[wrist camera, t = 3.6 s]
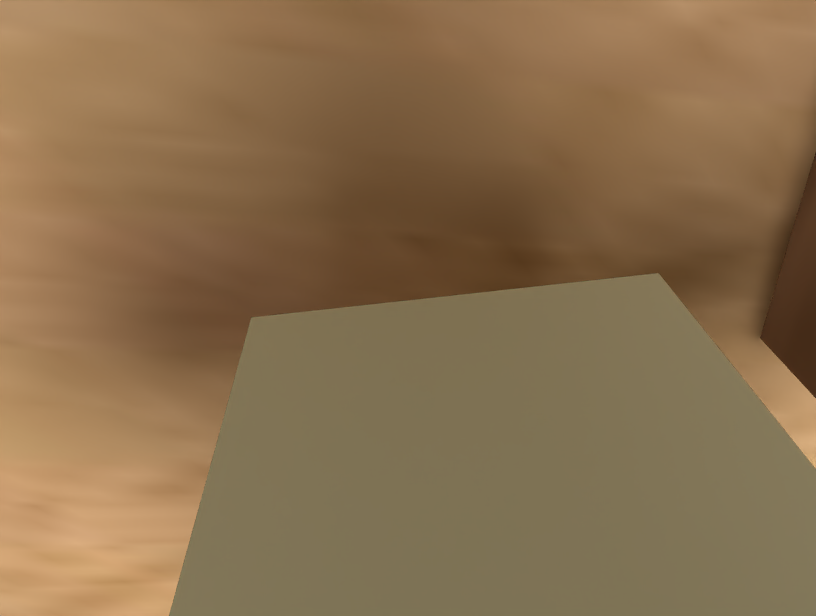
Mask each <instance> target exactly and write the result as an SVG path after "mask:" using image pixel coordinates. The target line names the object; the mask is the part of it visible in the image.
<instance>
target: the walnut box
mask: <svg viewBox="0 0 816 616" xmlns="http://www.w3.org/2000/svg"><path fill="white" fill-rule="evenodd" d="M760 338H761V339H762V340H763V341H764V342H765V344H766V345H767V346H768V347H769V348H770V349H771V350H772V351H773V352H774V353H775V354H776V356H777V357H778V358H779V359H780V360H781V361H782V362H783V363H784V364H785V365H786V366H787V367H788V369H789V370H790V371H791V372H792V373H793V374H794V375H795V376H796V377H797V378H798V379H799V381H800V382H801V383H802V384H803V385H804V386H805V387H806V388H807V389H808V390H809V391H810V392H811V394H812V395H813V396H814V397H815V398H816V153H815V157H814V160H813V163H812V167H811V170H810V173H809V177H808V180H807V183H806V187H805V190H804V193H803V197H802V200H801V203H800V207H799V210H798V213H797V217H796V220H795V223H794V227H793V230H792V233H791V237H790V240H789V243H788V247H787V250H786V253H785V257H784V260H783V263H782V267H781V270H780V273H779V277H778V280H777V283H776V287H775V290H774V293H773V297H772V300H771V303H770V307H769V310H768V313H767V317H766V320H765V323H764V327H763V330H762V333H761V337H760Z"/></svg>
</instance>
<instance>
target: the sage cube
mask: <svg viewBox="0 0 816 616" xmlns="http://www.w3.org/2000/svg"><path fill="white" fill-rule="evenodd" d="M169 616H816V469H815V467H814V466H813V465H812V464H811V462H810V461H809V460H808V459H807V457H806V456H805V455H804V454H803V452H802V451H801V450H800V449H799V447H798V446H797V445H796V444H795V443H794V441H793V440H792V439H791V438H790V436H789V435H788V434H787V433H786V431H785V430H784V429H783V428H782V426H781V425H780V424H779V423H778V421H777V420H776V419H775V418H774V416H773V415H772V414H771V413H770V411H769V410H768V409H767V408H766V406H765V405H764V404H763V403H762V401H761V400H760V399H759V398H758V396H757V395H756V394H755V393H754V391H753V390H752V389H751V388H750V386H749V385H748V384H747V383H746V381H745V380H744V379H743V378H742V376H741V375H740V374H739V373H738V371H737V370H736V369H735V368H734V366H733V365H732V364H731V363H730V361H729V360H728V359H727V358H726V356H725V355H724V354H723V353H722V352H721V350H720V349H719V348H718V347H717V345H716V344H715V343H714V342H713V340H712V339H711V338H710V337H709V335H708V334H707V333H706V332H705V330H704V329H703V328H702V327H701V325H700V324H699V323H698V322H697V320H696V319H695V318H694V317H693V315H692V314H691V313H690V312H689V310H688V309H687V308H686V307H685V305H684V304H683V303H682V302H681V300H680V299H679V298H678V297H677V295H676V294H675V293H674V292H673V290H672V289H671V288H670V287H669V285H668V284H667V283H666V282H665V280H664V279H663V278H662V277H661V275H660V274H659V273H654V274H645V275H636V276H627V277H618V278H608V279H599V280H590V281H581V282H572V283H563V284H553V285H544V286H535V287H526V288H517V289H507V290H498V291H489V292H480V293H471V294H461V295H452V296H443V297H434V298H425V299H416V300H406V301H397V302H388V303H379V304H370V305H360V306H351V307H342V308H333V309H324V310H315V311H305V312H296V313H287V314H278V315H269V316H259V317H251V320H250V324H249V328H248V331H247V335H246V338H245V342H244V346H243V349H242V353H241V357H240V360H239V364H238V367H237V371H236V375H235V378H234V382H233V386H232V389H231V393H230V396H229V400H228V404H227V407H226V411H225V415H224V418H223V422H222V426H221V429H220V433H219V436H218V440H217V444H216V447H215V451H214V455H213V458H212V462H211V465H210V469H209V473H208V476H207V480H206V484H205V487H204V491H203V494H202V498H201V502H200V505H199V509H198V513H197V516H196V520H195V524H194V527H193V531H192V534H191V538H190V542H189V545H188V549H187V553H186V556H185V560H184V563H183V567H182V571H181V574H180V578H179V582H178V585H177V589H176V592H175V596H174V600H173V603H172V607H171V611H170V614H169Z"/></svg>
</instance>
